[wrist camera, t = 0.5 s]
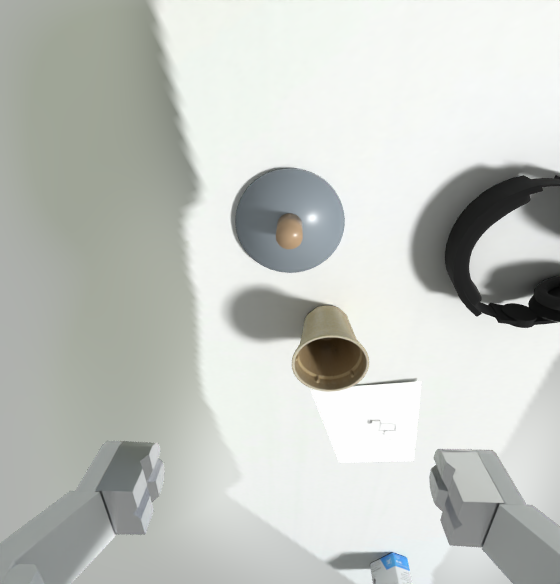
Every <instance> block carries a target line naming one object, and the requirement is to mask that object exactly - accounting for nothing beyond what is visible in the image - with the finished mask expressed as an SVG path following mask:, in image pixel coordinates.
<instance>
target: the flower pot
mask: <svg viewBox="0 0 560 584" xmlns="http://www.w3.org/2000/svg"><path fill="white" fill-rule="evenodd" d="M368 367H369V357H368V354H367V352H366V350H365V349H364V347H363V346H362V345H361V344H360V343H359V342H358V341H357V340H356V337H355V335H354V332H353V330H352V328H351V325H350V323H349V320H348V317H347V315H346V314H345V313H344V312H343V311H342V310H340V309H339V308H337V307H334V306H320V307H317V308H315V309H314V310H313V311H311V312H310V313H309V314H308V315H307V316H306V318H305V321H304V327H303V332H302V336H301V341H300V345H299V346H298V348H297V349H296V351H295V353H294V355H293V358H292V369H293V372H294V374H295V376H296V377H297V379H298V380H299V381H300V382H301V383H303V384H304V385H306V386H308V387H310V388H312V389H315V390H319V391H326V392H330V391H340V390H343V389H347V388H350V387H352V386H354V385H355V384H357V383H358V382H359V381H361V380H362V378H363V377H364V376H365V375H366V372H367V371H368Z"/></svg>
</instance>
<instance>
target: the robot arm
mask: <svg viewBox="0 0 560 584" xmlns="http://www.w3.org/2000/svg"><path fill="white" fill-rule="evenodd" d="M160 452H161V451H160V447H159V443H148V442H129V441H106V442H105V443H104V444H103V445H102V446H101V448H100V450H99V452H98V453H97V455H96V457H95V458H94V460H93V462H92V463H91V465H90V467H89V469H88V470H87V472H86V474H85V475H84V477H83V479H82V481H81V482H80V484H79V485H78V487H77V489H76V490H75V491H69V492H68V493H67V494H65V495H64V496H63V497H61V498H60V499H59V500H57V501H56V502H55V503H53V504H52V505H51V506H49V507H48V508H47V509H45V510H44V511H43V512H41V513H40V514H39V515H37V516H36V517H35V518H33V519H32V520H31V521H29V522H28V523H27V524H25V525H24V526H22V527H21V528H20V529H18V530H17V531H16V532H14V533H13V534H12V535H10V536H9V537H8V538H7V539H5V540H4V541H2V542H1V543H0V584H71V583H72V582H73V581H74V580H75V579H76V577H78V576H79V575H80V574H81V572H82V571H83V570H84V569H85V568H86V567H87V566H88V565H89V564H90V563H91V562H92V561H93V560H94V559H95V557H96V556H97V555H98V554H99V553H100V552H101V551H102V550H103V549H104V547H106V546H107V544H108V543H109V542H110V541H111V540H112V539H113V538H114V537H115V534H146V531H147V528H148V525H149V523H150V520H151V517H152V514H153V512H154V510H153V506H152V502H153V501H154V500H155V499H156V498H157V497H158V496H159V495H160V492H161V489H162V486H163V481H164V464H163V461H162V460H161V459H159V458H158V457H159V454H160ZM434 460H435V463H436V465H435V466H434V467H433V468H431V472H430V489H431V494H432V497H433V500H434V503H435V505H436V506H437V507H438V508H439V509H440V510H441V511H443V513H442V516H441V523H442V526H443V529H444V531H445V534H446V537H447V540H448V543H449V545H453V546H469V547H483V548H482V550H483V551H484V552H485V553H486V554H487V555H488V556H489V557H490V559H491V560H492V561H493V562H494V563H495V564H496V565H497V566H498V568H499V569H500V570H501V571H502V572H503V573H504V574H505V575H506V576H507V578H508V579H509V580H510V581H511V582H512V583H513V584H560V526H559V525H558V524H556V523H555V522H554V521H552V520H551V519H550V518H549V517H547V516H546V515H545V514H543V513H542V512H541V511H540V510H538V509H537V508H536V507H534V506H533V505H526V503H525V501H524V499H523V498H522V496H521V494H520V493H519V491H518V489H517V488H516V486H515V484H514V483H513V481H512V480H511V478H510V476H509V474H508V473H507V471H506V469H505V468H504V466H503V464H502V463H501V461H500V459H499V457H498V456H497V454H496V453H495V452H494V451H493V450H472V449H437V451H436V452H435V455H434Z"/></svg>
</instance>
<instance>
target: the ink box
mask: <svg viewBox="0 0 560 584" xmlns="http://www.w3.org/2000/svg"><path fill="white" fill-rule="evenodd" d="M370 567H371V574H372V581H373V584H413V583H412V578H411V574H410V569H409V565H408V560H407V558H406V557H404V556H401V555H398V554H395V553H393V552H392V553H390V554H389V555H387V556H385V557H383V558H381V559H379V560H377V561H375V562H373V563H371V564H370Z"/></svg>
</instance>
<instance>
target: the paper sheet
mask: <svg viewBox="0 0 560 584" xmlns="http://www.w3.org/2000/svg"><path fill="white" fill-rule="evenodd" d="M421 385H422V381H420V382H406V383H392V384H378V385H364V386H352V387H350V388H347V389H343V390H340V391H330V392H326V391H319V390H315V389H310V391H311V394H312V396H313V399H314V401H315V404H316V406H317V409H318V411H319V414H320V416H321V419H322V421H323V424H324V426H325V429H326V431H327V434H328V436H329V439H330V442H331V444H332V447H333V449H334V452H335V454H336V457H337V459H338V462H339V463H347V462H394V461H414V455H415V445H416V435H417V425H418V415H419V405H420V395H421Z"/></svg>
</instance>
